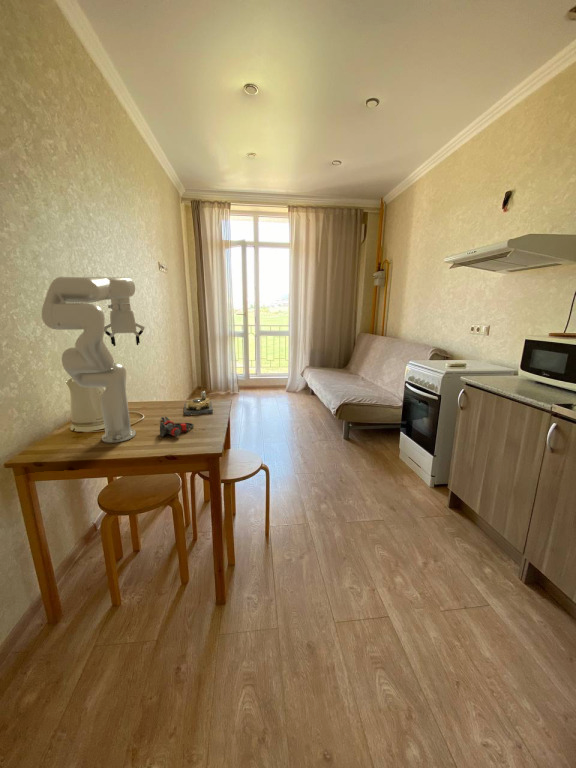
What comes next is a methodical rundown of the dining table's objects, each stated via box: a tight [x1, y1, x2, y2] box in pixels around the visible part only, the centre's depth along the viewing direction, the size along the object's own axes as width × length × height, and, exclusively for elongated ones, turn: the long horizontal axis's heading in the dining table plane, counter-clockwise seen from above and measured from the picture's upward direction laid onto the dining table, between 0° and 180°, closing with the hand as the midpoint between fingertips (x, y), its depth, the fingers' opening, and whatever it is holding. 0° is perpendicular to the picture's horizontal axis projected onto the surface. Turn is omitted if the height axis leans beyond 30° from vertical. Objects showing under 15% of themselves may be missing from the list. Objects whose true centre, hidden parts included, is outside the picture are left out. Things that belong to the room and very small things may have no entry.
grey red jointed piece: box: [159, 416, 195, 438], centre depth 138 cm, size 6×26×15 cm
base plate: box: [183, 400, 214, 416], centre depth 162 cm, size 15×14×2 cm
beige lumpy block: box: [185, 390, 211, 410], centre depth 161 cm, size 13×12×6 cm
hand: (126, 345), depth 143 cm, fingers open, 9 cm apart
